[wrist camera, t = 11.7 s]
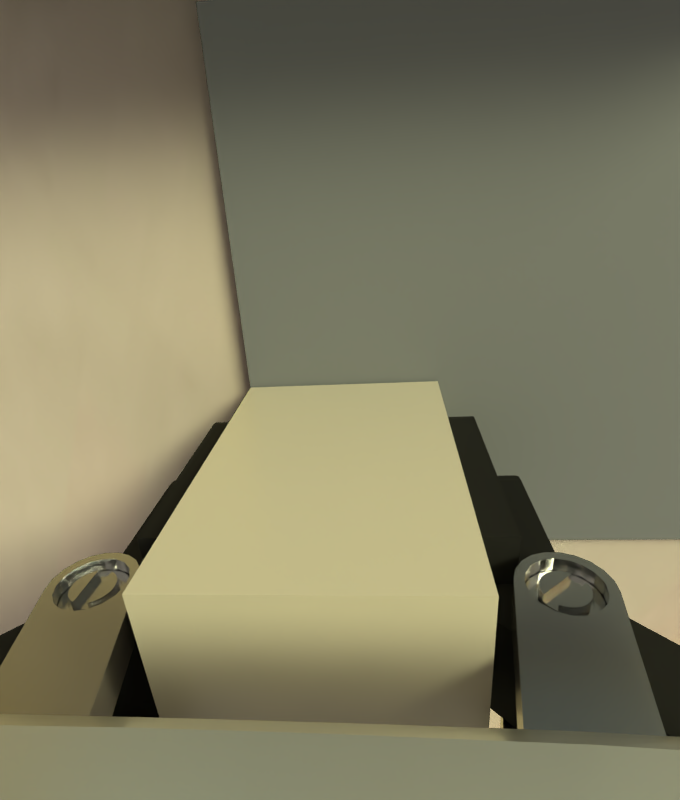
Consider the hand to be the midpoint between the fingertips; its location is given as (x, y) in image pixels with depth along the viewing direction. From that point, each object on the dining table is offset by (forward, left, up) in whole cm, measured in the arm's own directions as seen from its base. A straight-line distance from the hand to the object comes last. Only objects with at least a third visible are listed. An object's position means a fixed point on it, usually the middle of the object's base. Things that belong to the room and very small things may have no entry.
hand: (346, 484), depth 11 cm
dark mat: (-3, +3, -1) cm, 5 cm away
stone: (0, 0, -1) cm, 1 cm away
